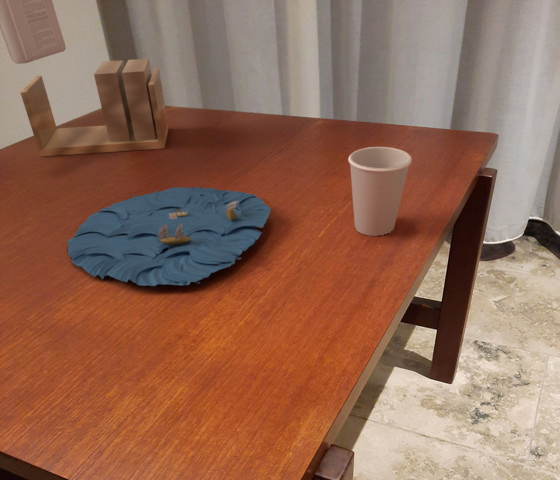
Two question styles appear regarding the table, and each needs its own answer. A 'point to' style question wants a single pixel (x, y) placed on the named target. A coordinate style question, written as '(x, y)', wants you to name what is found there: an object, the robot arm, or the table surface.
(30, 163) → the table surface
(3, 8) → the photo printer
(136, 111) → the rack
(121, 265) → the decorative plate
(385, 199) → the dixie cup
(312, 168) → the table surface
